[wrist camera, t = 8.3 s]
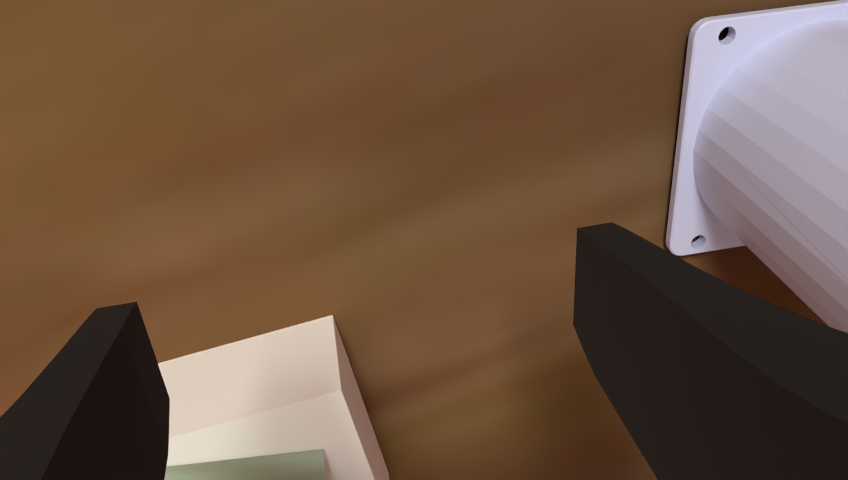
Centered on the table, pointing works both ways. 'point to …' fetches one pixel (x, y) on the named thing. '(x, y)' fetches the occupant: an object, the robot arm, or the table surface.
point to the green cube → (255, 468)
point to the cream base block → (272, 402)
